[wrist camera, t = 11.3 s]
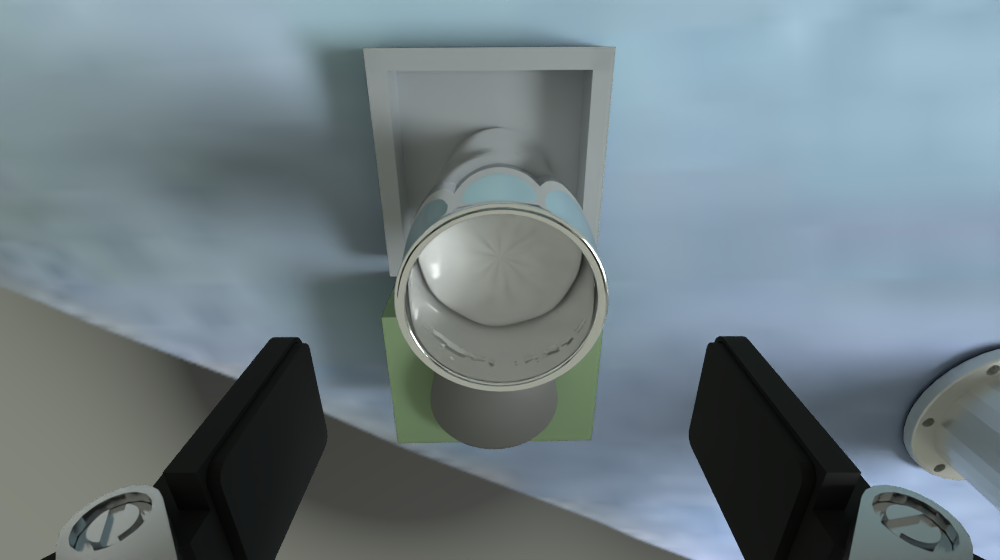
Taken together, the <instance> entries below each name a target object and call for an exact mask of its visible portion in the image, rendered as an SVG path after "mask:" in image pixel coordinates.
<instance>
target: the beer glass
mask: <svg viewBox="0 0 1000 560" xmlns="http://www.w3.org/2000/svg"><path fill="white" fill-rule="evenodd" d="M608 305H609V287H608V280H607V276H606V272H605V269H604V266H603V264H602V262H601V259H600V257H599V253H598V249H597V246H596V243H595V240H594V236H593V233H592V231H591V228H590V226H589V223H588V221H587V219H586V217H585V214H584V212H583V210H582V208H581V206H580V205H579V203H578V202H577V200H576V199H575V197H574V196H573V194H572V193H571V191H570V190H569V189H568V187H567V186H566V185H565V184H564V183H563V182H562V181H561V180H560V179H559V178H558V177H557V176H556V175H555V174H553V173H552V172H551V171H550V170H549V168H548V165H547V162H546V159H545V157H544V155H543V153H542V152H541V150H540V149H539V147H538V146H537V145H536V144H535V143H534V142H533V141H532V140H531V139H529V138H528V137H527V136H525V135H523V134H521V133H519V132H517V131H514V130H510V129H505V128H490V129H485V130H481V131H478V132H476V133H474V134H472V135H470V136H469V137H467V138H466V139H465V140H463V141H462V142H461V143H460V144H459V145H458V146H457V148H456V149H455V150H454V152H453V153H452V155H451V157H450V159H449V162H448V165H447V169H446V174H445V175H443V176H442V177H441V178H440V179H439V180H438V181H437V182H436V183H435V184H434V185H433V186H432V188H431V189H430V190H429V192H428V193H427V195H426V196H425V198H424V200H423V201H422V203H421V205H420V207H419V208H418V210H417V212H416V214H415V217H414V219H413V222H412V225H411V227H410V230H409V233H408V236H407V239H406V243H405V248H404V252H403V256H402V261H401V265H400V268H399V271H398V274H397V277H396V282H395V289H394V307H395V314H396V318H397V322H398V325H399V328H400V330H401V333H402V335H403V337H404V339H405V340H406V342H407V344H408V345H409V347H410V348H411V350H412V351H413V352H414V353H415V355H416V356H417V357H418V358H419V359H420V360H421V361H422V362H423V363H424V364H425V365H427V366H428V367H429V368H430V369H432V370H433V371H434V372H436V373H437V374H439V375H440V376H442V377H444V378H446V379H448V380H450V381H452V382H454V383H457V384H459V385H462V386H465V387H469V388H473V389H477V390H483V391H493V392H509V391H518V390H524V389H529V388H533V387H536V386H539V385H542V384H545V383H547V382H549V381H552V380H554V379H556V378H557V377H559V376H561V375H563V374H564V373H566V372H567V371H569V370H570V369H571V368H573V367H574V366H575V365H576V364H577V363H579V362H580V361H581V360H582V359H583V358H584V357H585V356H586V354H587V353H588V352H589V351H590V350H591V348H592V347H593V345H594V344H595V342H596V341H597V339H598V337H599V335H600V333H601V331H602V329H603V326H604V323H605V320H606V317H607V312H608Z"/></svg>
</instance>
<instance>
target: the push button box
mask: <svg viewBox="0 0 1000 560" xmlns="http://www.w3.org/2000/svg"><path fill="white" fill-rule="evenodd" d="M615 49H616V47H604V46H599V47H445V48H363V53H364V61H365V69H366V78H367V86H368V95H369V103H370V112H371V120H372V129H373V137H374V145H375V154H376V162H377V171H378V179H379V188H380V196H381V204H382V213H383V221H384V230H385V238H386V247H387V255H388V264H389V272H390V277H397V274H398V271H399V268H400V265H401V261H402V256H403V252H404V248H405V243H406V239H407V236H408V233H409V230H410V227H411V225H412V222H413V219H414V217H415V214H416V212H417V210H418V208H419V207H420V205H421V203H422V201H423V200H424V198H425V196H426V195H427V193H428V192H429V190H430V189H431V188H432V186H433V185H434V184H435V183H436V182H437V181H438V180H439V179H440V178H441V177H442V176H443V175H445V174H446V169H447V165H448V162H449V159H450V157H451V155H452V153H453V152H454V150H455V149H456V148H457V146H458V145H459V144H460V143H461V142H462V141H463V140H465V139H466V138H467V137H469V136H470V135H472V134H474V133H476V132H478V131H481V130H485V129H490V128H505V129H510V130H514V131H517V132H519V133H521V134H523V135H525V136H527V137H528V138H529V139H531V140H532V141H533V142H534V143H535V144H536V145H537V146H538V147H539V149H540V150H541V152H542V153H543V155H544V157H545V159H546V162H547V165H548V168H549V170H550V171H551V172H552V173H553V174H555V175H556V176H557V177H558V178H559V179H560V180H561V181H562V182H563V183H564V184H565V185H566V186H567V187H568V189H569V190H570V191H571V193H572V194H573V196H574V197H575V199H576V200H577V202H578V203H579V205H580V206H581V208H582V210H583V212H584V214H585V217H586V219H587V221H588V223H589V226H590V228H591V231H592V233H593V236H594V240H595V243H596V246H597V248H598V237H599V226H600V215H601V204H602V193H603V182H604V171H605V160H606V149H607V138H608V126H609V115H610V104H611V93H612V82H613V71H614V60H615ZM394 289H395V285H394V288H393V290H392V293H391V295H390V298H389V300H388V302H387V305H386V307H385V310H384V312H383V315H382V317H381V319H382V327H383V334H384V342H385V349H386V357H387V364H388V372H389V379H390V387H391V394H392V402H393V409H394V417H395V424H396V432H397V439H398V443H433V442H462V443H464V444H467V445H470V446H473V447H478V448H484V449H503V448H510V447H514V446H517V445H520V444H523V443H525V442H527V441H568V440H591V438H592V429H593V419H594V409H595V400H596V390H597V381H598V371H599V361H600V352H601V342H602V332H603V329H602V331H601V333H600V335H599V337H598V339H597V341H596V342H595V344H594V345H593V347H592V348H591V350H590V351H589V352H588V353H587V354H586V356H585V357H584V358H583V359H582V360H581V361H580V362H579V363H577V364H576V365H575V366H574V367H573V368H571V369H570V370H569V371H567V372H566V373H564V374H563V375H561V376H559V377H557V378H556V379H554V380H552V381H549V382H547V383H545V384H542V385H539V386H536V387H533V388H529V389H524V390H518V391H509V392H493V391H483V390H477V389H473V388H469V387H465V386H462V385H459V384H457V383H454V382H452V381H450V380H448V379H446V378H444V377H442V376H440V375H439V374H437V373H436V372H434V371H433V370H432V369H430V368H429V367H428V366H427V365H425V364H424V363H423V362H422V361H421V360H420V359H419V358H418V357H417V356H416V355H415V353H414V352H413V351H412V350H411V348H410V347H409V345H408V344H407V342H406V340H405V339H404V337H403V335H402V333H401V330H400V328H399V325H398V322H397V318H396V314H395V307H394Z"/></svg>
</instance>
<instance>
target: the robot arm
mask: <svg viewBox="0 0 1000 560" xmlns="http://www.w3.org/2000/svg"><path fill="white" fill-rule="evenodd" d="M903 440H904V444H905V447H906V450H907V452H908V453H909V455H910V456H911V457H912V459H914V460H915V461H916V462H917V463H918V464H919V465H920V466H921V467H922V468H923V469H924V470H926V471H927V472H929V473H930V474H932V475H935V476H938V477H941V478H945V479H952V480H966V481H967V482H968V483H970V484H971V485H972V486H973V487H974V488H975V489H976V490H977V491H978V492H979V493H980V494H981V495H983V496H984V497H985V498H986V499H987V500H988V501H989V502H990V503H991V504H992V505H993V506H995V507H996V508H997V509H998V510H999V511H1000V349H997V350H993V351H990V352H986V353H983V354H981V355H979V356H976V357H974V358H972V359H969V360H967V361H965V362H963V363H962V364H960V365H958V366H956V367H955V368H953V369H951V370H949V371H948V372H947V373H945V374H944V375H943V376H941V377H940V378H939V379H937V380H936V381H935V382H934V383H933V384H932V385H931V386H930V387H929V388H927V389H926V390H925V391H924V392H923V394H922V395H921V396H920V397H919V399H918V400H917V401H916V403H915V404H914V405H913V407H912V409H911V411H910V413H909V415H908V417H907V420H906V423H905V427H904V439H903ZM689 441H690V445H691V447H692V450H693V452H694V454H695V456H696V458H697V460H698V462H699V464H700V466H701V468H702V471H703V473H704V475H705V477H706V479H707V481H708V483H709V485H710V487H711V490H712V492H713V494H714V496H715V498H716V500H717V502H718V504H719V506H720V508H721V511H722V513H723V515H724V517H725V519H726V521H727V523H728V525H729V527H730V529H731V532H732V534H733V536H734V538H735V540H736V542H737V544H738V546H739V548H740V550H741V553H742V555H743V557H744V559H745V560H985V559H983V558H981V557H979V556H977V555H975V554H973V546H972V543H971V539H970V536H969V534H968V533H967V532H966V530H965V529H964V527H963V526H962V524H961V523H960V522H959V521H958V520H957V519H956V518H955V517H953V516H952V515H951V514H950V513H949V512H948V511H947V510H945V509H944V508H942V507H941V506H939V505H938V504H937V503H935V502H934V501H932V500H930V499H928V498H926V497H924V496H922V495H920V494H918V493H916V492H913V491H910V490H907V489H904V488H901V487H896V486H890V485H878V486H873V487H870V486H869V484H868V483H867V482H866V481H865V480H864V479H863V477H862V476H861V475H860V474H861V472H860V471H859V469H858V468H857V467H856V466H855V465H854V463H853V462H852V461H851V460H850V459H849V458H848V456H847V455H846V454H845V453H844V452H843V450H842V449H841V448H840V447H839V446H838V445H837V443H836V442H835V441H834V440H833V439H832V438H831V436H830V435H829V434H828V433H827V432H826V430H825V429H824V428H823V427H822V426H821V425H820V423H819V422H818V421H817V420H816V419H815V418H814V416H813V415H812V414H811V413H810V412H809V410H808V409H807V408H806V407H805V406H804V405H803V403H802V402H801V401H800V400H799V399H798V398H797V396H796V395H795V394H794V393H793V392H792V390H791V389H790V388H789V387H788V386H787V385H786V383H785V382H784V381H783V380H782V379H781V378H780V376H779V375H778V374H777V373H776V372H775V370H774V369H773V368H772V367H771V366H770V365H769V363H768V362H767V361H766V360H765V359H764V357H763V356H762V355H761V354H760V353H759V352H758V350H757V349H756V348H755V347H754V346H753V345H752V343H751V342H750V341H749V340H748V339H747V338H746V337H743V336H719V337H717V338H716V340H715V342H714V343H709V344H708V346H707V349H706V354H705V359H704V363H703V368H702V373H701V377H700V382H699V387H698V391H697V396H696V401H695V405H694V410H693V415H692V419H691V424H690V429H689ZM326 442H327V429H326V424H325V419H324V414H323V409H322V405H321V400H320V395H319V390H318V386H317V381H316V376H315V372H314V367H313V362H312V357H311V353H310V348H309V346H308V344H306V343H302V341H301V340H300V338H298V337H274V338H271V339H270V340H269V341H268V343H267V344H266V345H265V346H264V348H263V349H262V350H261V351H260V352H259V354H258V355H257V356H256V357H255V359H254V360H253V361H252V362H251V364H250V365H249V366H248V367H247V369H246V370H245V371H244V372H243V374H242V375H241V376H240V377H239V379H238V380H237V381H236V382H235V384H234V385H233V386H232V387H231V389H230V390H229V391H228V392H227V394H226V395H225V396H224V397H223V398H222V400H221V401H220V402H219V403H218V405H217V406H216V407H215V408H214V410H213V411H212V412H211V414H210V415H209V416H208V417H207V418H206V419H205V421H204V422H203V423H202V425H201V426H200V427H199V428H198V429H197V431H196V432H195V433H194V434H193V436H192V437H191V438H190V439H189V441H188V442H187V443H186V444H185V446H184V447H183V448H182V449H181V451H180V452H179V453H178V454H177V455H176V457H175V458H174V459H173V460H172V462H171V463H170V464H169V465H168V467H167V468H166V469H165V470H164V472H163V474H162V476H161V477H160V478H159V479H158V481H157V482H156V483H155V484H154V486H153V487H151V486H146V485H135V486H129V487H123V488H121V489H118V490H115V491H112V492H109V493H107V494H105V495H103V496H101V497H99V498H97V499H96V500H94V501H92V502H91V503H90V504H88V505H86V506H85V507H84V508H82V509H81V510H80V511H78V512H77V513H76V514H75V515H74V516H73V517H72V518H71V519H70V520H69V521H68V522H67V523H66V525H65V526H64V528H63V529H62V531H61V532H60V534H59V536H58V540H57V544H56V552H55V553H53V554H51V555H49V556H47V557H45V558H43V559H41V560H275V558H276V555H277V553H278V551H279V549H280V546H281V544H282V542H283V540H284V538H285V535H286V533H287V531H288V529H289V526H290V524H291V522H292V520H293V518H294V515H295V513H296V511H297V509H298V506H299V504H300V502H301V500H302V497H303V495H304V493H305V491H306V489H307V486H308V484H309V482H310V480H311V477H312V475H313V473H314V471H315V468H316V466H317V464H318V462H319V460H320V457H321V455H322V453H323V451H324V448H325V446H326Z"/></svg>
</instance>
